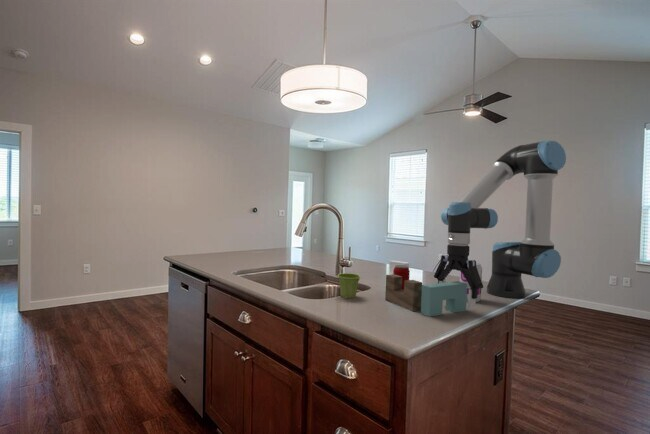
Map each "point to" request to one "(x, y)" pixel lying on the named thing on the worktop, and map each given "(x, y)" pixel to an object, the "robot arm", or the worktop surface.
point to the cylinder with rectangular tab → (394, 263)
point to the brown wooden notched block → (403, 292)
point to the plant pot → (348, 284)
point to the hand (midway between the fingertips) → (456, 302)
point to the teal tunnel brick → (443, 297)
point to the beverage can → (402, 273)
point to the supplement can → (463, 279)
